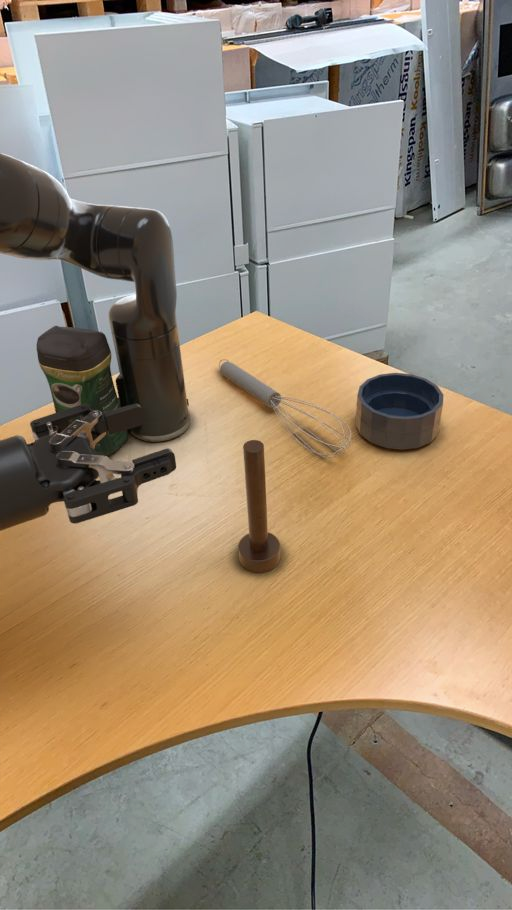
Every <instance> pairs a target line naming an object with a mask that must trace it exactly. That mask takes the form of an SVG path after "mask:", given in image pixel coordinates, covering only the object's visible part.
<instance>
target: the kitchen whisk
mask: <svg viewBox="0 0 512 910" xmlns="http://www.w3.org/2000/svg"><path fill="white" fill-rule="evenodd" d="M222 361H224V362H223V363H222V364H221V362H222ZM218 369H219V371H220V373H221V375H222V376H223V377H225V378H226V379H228V380H229V381H230V382H232V383H233V384H235V385H236V386H238V387H239V388H240V389H242V391H245V392H246V393H247V394H249V395H250V396H252V397H254V398H255V399H257V400H258V401H259V402H261V403H262V404H264V405H265V406H267V407H268V408H270V409H273V411H274V412H275V414H276V416H277V417H278V419H279V420H280V422H281V423H282V425H283V426H284V428H285V429H286V431H288V432H289V434H290V435H291V436H292V437H293V439H295V440H296V441H297V442H298V443H299V444H300V445H301V446H303V447H304V448H305V449H306V450H308V451H310V452H312V453H315V454H317V455H318V456H320V457H323V458H324V459H334V458H336V457H337V456H339V455H340V454H342V455H343V454H345V453H346V450H345V448H347V447H350V446H351V439H352V438H351V437H352V431H351V428H350V426H349V425H348V424H347V423H346V422H345V421H344V420H343V419H342V418H340V417H338V416H337V415H335V414H333V413H332V412H330V411H329V410H327V409H325V408H324V407H321V406H319V405H317V404H315V403H312V402H309V401H306V400H302V399H299V398H295V397H294V398H293V397H288V396H282V395H281V393H279V392H277V391H276V390H274V389H273V388H271V386H269V385H267V384H265V383H264V382H262V381H261V380H259V378H256V377H255V376H253V375H251V374H250V373H248V372H247V371H246V370H244V369H243V368H241V367H240V366H238V365H236V364H235V363H233V362H231V361H229V359H221V360H220V361H219V363H218ZM284 400H286V401H284ZM287 401H290V402H295V403H298V404H302V405H305V406H308V407H312V408H314V409H318V410H321V411H322V412H325V413H327V414H328V415H329V414H330V415H331V416H332V417H333V418H334V419H335V420H337V422H338V424H339V426H340V427H341V429H342V432H340V431H338V430H337V429H336V428H333V427H331V426H330V425H328V424H327V423H325V422H323V421H321V420H319V419H318V418H317V417H315V416H314V415H312V414H311V413H309V412H307V411H305V410H303V409H302V408H299V407H297V406H296V405H294V404H292V403H289V402H287ZM281 403H282V404H283V405H286V406H288V407H290V408H292V409H293V410H296V411H298V412H300V413H302V414H304V415H306V416H308V417H309V418H312V419H314V420H315V421H318V422H319V423H320V424H322V426H324V427H325V428H326V429H327V430H328V431H330V432H331V433H332V434H333V435H334V437H335V438H337V440H338V441H339V443H340V445H334V444H330V443H326V442H325V441H323V440H322V439H321V438H319V436H316V435H315V434H314V433H313V432H311V430H309V429H308V428H307V427H306V426H304V425H303V424H302V423H300V422H299V421H298V420H297V419H295V417H293V416H292V415H291V414H289V412H287V411H286V410H285V409H284V408H282V407H281V406H280V404H281ZM279 408H280V409H281V410H282V411H281V410H280V409H279ZM283 412H285V413H286V414H287V415H288V416H289V417H290V418H291V419H293V420H294V421H295V422H297V423H298V424H299V425H300V426H301V427H302V428H303V429H305V430H306V431H307V432H308V433H307V432H306V431H304V430H303V429H302V428H300V427H299V426H298V425H296V424H295V423H294V422H293V421H292V420H291V419H290V418H288V416H286V415H285V414H284V413H283ZM279 415H280V416H279ZM284 417H285V418H286V419H287V420H288V421H289V422H290V424H292V425H294V426H295V427H296V428H297V429H298V430H300V432H302V433H304V434H305V435H307V436H309V437H310V438H312V439H314V440H315V441H318V442H320V443H322V444H324V445H326V446H327V447H329V448H330V449H331V450H334V451H335V452H331V453H321V452H317V451H315V450H314V449H313V448H312V447H310V445H308V444H307V443H306V442H305V441H304V440H303V439H302V438H301V437H300V436H299V435H298V434H297V433H296V431H295V430H294V429H293V428H292V426H291V425H290V424H289V423H288V422H287V420H285V418H284ZM283 421H284V422H283ZM340 421H341V422H343V423H344V425H345V426H347V428H348V430H349V438H348V437H346V436H345V431H344V427H343V425H342V423H341V422H340ZM285 423H286V424H285ZM288 427H289V428H288ZM289 429H290V430H291V431H292V432H293V433H294V434H293V433H292V432H291V431H290V430H289ZM331 429H332V430H331ZM334 431H335V432H336V433H337V434H339V435H341V436H342V441H341V440H340V438H339V437H338V436H337V434H335V432H334ZM309 433H310V434H309ZM295 435H296V437H295ZM298 438H299V439H300V440H299V439H298ZM345 439H346V440H347V442H346V443H345ZM344 443H345V444H344ZM348 443H349V444H348ZM334 447H335V448H338V450H337V449H335V448H334ZM339 448H340V449H339ZM342 450H343V452H342ZM335 454H336V455H335ZM330 455H334V456H330Z"/></svg>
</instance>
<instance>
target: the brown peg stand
mask: <svg viewBox="0 0 512 910" xmlns="http://www.w3.org/2000/svg"><path fill="white" fill-rule="evenodd" d="M242 450H243V467H244V479H245V493H246V495H245V496H246V508H247V523H248V533H247V534H245V535H244V536H243V537H241V539H240V540H239V542H238V545H237V548H238V559H239V563H240V564H241V566H242V567H243V568H244V569H246V570H247V571H248V572H252V573H266V572H269V571H271V570H273V569H274V568H276V567H277V566H278V564H279V563H280V560H281V543H280V540H279V538H278V537H277V536H276V535H274V534H273V533H271V532H269V529H268V527H269V526H268V507H267V506H268V505H267V486H266V485H267V483H266V465H265V463H266V462H265V445H264V443H263V441H261V440H258V439H250V440H248V441H246V442H244V443H243V445H242Z"/></svg>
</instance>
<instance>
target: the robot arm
mask: <svg viewBox="0 0 512 910" xmlns="http://www.w3.org/2000/svg"><path fill="white" fill-rule="evenodd" d="M172 235H173V233H172V230H171V225H170V224H169V221H168V219H167V218H166V216H165V215H164V214H163V213H162V212H161V211H159V210H157V209H153V208H147V207H146V208H145V207H137V206H135V207H134V206H125V205H115V204H114V205H112V204H95V203H89V202H84V201H81V200H77V199H73V198H71V197H70V195H69V194H68V192H67V190H66V188H65V187H64V186H63V184H62V183H61V182H60V181H59V180H57V179H56V178H55V177H54V176H53V175H51V173H48V172H47V171H45V170H43V169H41V168H39V167H37V166H35V165H32V164H30V163H28V162H25V161H23V160H22V159H18V158H16V157H14V156H11V155H9V154H5V153H3V152H0V254H1V255H6V256H10V257H13V258H20V259H26V260H33V261H50V260H57V261H62V262H65V263H67V264H70V265H72V266H75V267H77V268H79V269H82V270H84V271H87V272H89V273H91V274H93V275H95V276H98V277H101V278H104V279H109V280H114V281H115V280H116V281H125V282H131V283H134V288H135V293H133V294H129V295H127V296H124V297H121V298H120V299H119V300H117V301H116V302H114V303H112V305H111V306H110V307H109V311H108V321H109V322H108V323H109V328H110V333H111V337H112V341H113V346H114V351H115V357H116V363H117V366H118V372H119V374H118V375H117V377H116V378H115V388H116V393H117V397H118V401H119V404H120V407H121V408H118V409H114V410H111V411H108V412H104V413H101V411H93V410H91V408H90V405H89V404H81V405H78V406H75V407H72V408H69V409H66V410H63V411H60V412H57V413H56V412H53V413H51V414H49V415H44V416H42V417H40V418H36V419H33V420H31V421H30V422H29V425H30V429H31V434H32V437H33V439H34V441H33V442H30V443H27V440H25V437H23V436H21V435H14V436H13V435H12V436H11V437H7V438H3V439H0V532H1V531H5V530H7V529H10V528H13V527H16V526H19V525H23V524H25V523H27V522H30V521H33V520H36V519H38V518H43V517H44V516H46V515H47V514H48V513H49V511H50V506H51V505H52V504H55V503H60V502H61V503H62V502H63V503H64V506H65V510H66V512H67V516H68V520H69V522H70V523H71V524H74V525H75V524H80V523H83V522H86V521H89V520H92V519H95V518H99V517H102V516H106V515H108V514H111V513H115V512H118V511H121V510H125V509H128V508H131V507H134V506H136V505H137V504H138V503H139V497H138V490H139V487H140V486H141V485H143V484H146V483H148V482H151V481H154V480H157V479H160V478H162V477H166V476H169V475H170V474H171V473H173V472H174V471H175V470H176V469H177V462H176V461H177V460H176V455H175V453H174V451H173V450H172V449H171V448H168V447H167V448H164V449H161V450H157V451H154V452H152V453H148V454H146V455H142V456H140V457H136V458H134V459H132V460H131V461H119V460H112V459H111V458H110V457H108V455H107V456H99V455H98V454H97V452H96V451H95V450H94V448H95V444H96V443H97V442H98V441H99V440H100V439H102V438H103V437H104V436H105V435H106V431H107V432H108V434H109V435H112V434H115V433H118V432H121V431H124V430H127V431H128V434H131V435H133V436H134V438H137V439H138V440H141V441H145V442H151V443H157V442H159V443H160V442H165V441H170V440H173V439H175V438H177V437H180V436H181V435H183V434H184V433H185V432H186V431H188V428H189V427H190V424H191V417H190V413H189V412H190V411H189V406H190V403H189V399H188V398H187V391H186V390H187V389H186V383H185V382H186V381H185V376H184V369H183V360H182V353H181V346H180V345H181V344H180V336H179V331H178V323H177V312H176V311H177V299H178V298H177V297H178V295H177V280H176V270H175V267H176V266H175V251H174V240H173V236H172ZM78 416H80V419H81V421H80V420H75V421H74V422H73V423H72V424H71V425H69V420H70V419H72V418H75V417H78ZM114 475H120V477H115V476H114ZM98 478H99V480H98ZM119 492H121V494H122V495H119V496H116V497H113V498H109V496H110V495H113V494H116V493H119Z"/></svg>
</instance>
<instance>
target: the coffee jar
mask: <svg viewBox="0 0 512 910" xmlns="http://www.w3.org/2000/svg"><path fill="white" fill-rule="evenodd" d="M36 353H37V361H38V365H39V367H40V369H41V371H42V372H43V374H44V376H45V379H46V381H47V383H48V386H49V390H50V393H51V398H52V402H53V407H54V413H57V412H60V411H63V410H66V409H69V408H72V407H75V406H78V405H81V404H89V405H90V408H91V410H93V411H101V413H104V412H108V411H111V410H114V409H118V408H121V407H120V404H119V401H118V398H119V396H118V393H117V389H116V386H115V384H114V380H113V376H112V370H111V363H112V350H111V347H110V344H109V342H108V338H107V337H106V335H105V333H104V332H102V331H99V330H91V329H85V328H79V327H71V326H59V325H54V326H52V327H50V328H49V329H47V330H46V331H44V332H43V333H42V334H40V335H39V336H38V337H37V341H36ZM75 420H80V421H81V419H80V416H78V417H75V418H72V419H70V420H69V425H71V424H72V423H73V422H74V421H75ZM128 437H129V433H128V431H127V430H124V431H121V432H118V433H115V434H112V435H109V434H108V432H107V431H106V435H105V436H104V437H103V438H102V439H100V440H99V441H98V442H97V443H96V444H95V448H94V450H95V451H96V452H97V454H98V455H99V456H107V457H108V456H109V455H112V454H114V453H115V452H117V451H118V450H120V448H122V447H123V445H124V444H125V442H126V441H127V439H128Z"/></svg>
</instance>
